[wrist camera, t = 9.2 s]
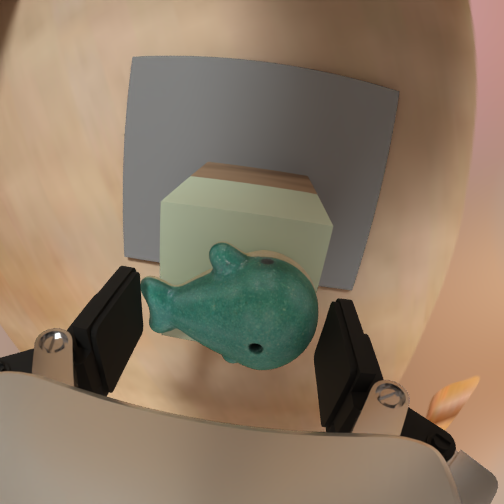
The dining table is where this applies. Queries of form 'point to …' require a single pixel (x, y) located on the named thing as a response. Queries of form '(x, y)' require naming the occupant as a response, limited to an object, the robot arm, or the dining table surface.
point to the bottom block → (255, 176)
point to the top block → (239, 227)
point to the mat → (256, 142)
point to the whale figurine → (240, 307)
